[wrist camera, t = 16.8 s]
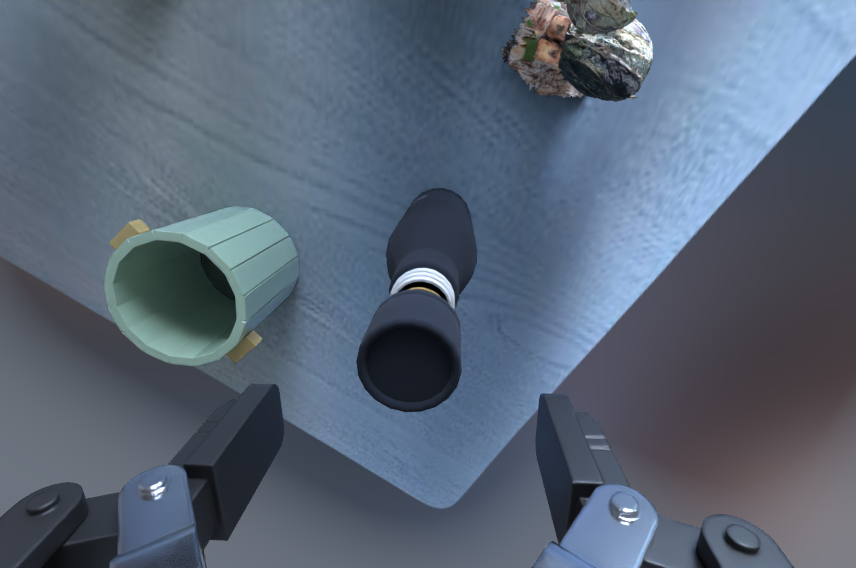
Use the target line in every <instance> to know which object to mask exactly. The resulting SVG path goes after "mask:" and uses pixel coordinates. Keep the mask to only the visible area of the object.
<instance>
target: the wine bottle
mask: <svg viewBox="0 0 856 568" xmlns="http://www.w3.org/2000/svg"><path fill="white" fill-rule="evenodd" d="M386 258H387V267H388V274H389V277H390V279H391V284H390V288H389V295H390V297H389V298H387V299H386V300H385V301H384V302H382V303H381V305H380V306H379V308H378V309H377V311H376V313H375V314H374V316H373V319H372V321H371V323H370V325H369V327H368V329H367V332H366V334H365V336H364V338H363V340H362V342H361V345H360V347H359V352H358V356H357V361H356V362H357V369H358V376H359V378H360V380H361V382H362V384H363V386H364V388H365V390H366V391H367V392H368V393H369V394H370V395H371V396H372V397H373V398H374V399H375V400H376V401H378V402H380V403H381V404H383V405H385V406H387V407H389V408H391V409H395V410H399V411H403V412H421V411H424V410H427V409H431V408H434V407H436V406H438V405H439V404H440V403H442V402H443V401H445V400H446V399H448V398H449V396H450V395H451V394H452V393H453V391H454V390H455V389H456V387H457V385H458V382H459V379H460V376H461V372H462V370H461V332H460V322H459V319H458V317H457V314H456V312H455V310H454V309H455V308H456V305H457V302H458V298H459V294H461V292H462V291H463V289H464V288H465V287H466V285H467V284H468V282H469V281H470V279H471V278H472V275H473V272H474V269H475V266H476V263H477V248H476V242H475V237H474V231H473V226H472V221H471V216H470V212H469V209H468V206H467V204H466V203H465V201H464V200H463V199H462V198H461V196H459V195H458V194H456V193H455V192H453V191H451V190H447V189H444V188H436V189H430V190H428V191H425V192H423V193H422V194H420V195H419V196H418V197H417V198H416V199H415V200H414V201H413V203H412V204H411V206H410V207H409V209H408V210H407V212H406V213H405V215H404V216H403V218H402V219H401V221H400V222H399V224H398V225H397V227H396V228H395V230H394V232H393V233H392V235H391V236H390V238H389V242H388V247H387V251H386Z"/></svg>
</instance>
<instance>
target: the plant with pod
mask: <svg viewBox="0 0 856 568" xmlns="http://www.w3.org/2000/svg"><path fill="white" fill-rule="evenodd" d="M535 1H536V2H537V3H530V9H524V10H525V11H526V12H527V13H528V14H529V15H530V16H527V17H523V18H522V19H523V20H524V21H525V22H526V23H520V25H519V30H516V29H514V35H512V38H513V40H510V42H511V43H509V42H507V47H503V54H502V55H503V56H504V57H503V59H505V61H504V62H507V64H510V65H509V67H510V66H511V68H514V69H515V71H516V72H517V73H518V75H520V76H521V77H522V79H523V80H525V81H526V84H528V83H529V82H530V90H531V89H532V88H533V87H534V86H535V93H536V94H538V95H541V94H543V96H545V95H547V96H552V95H554V96H555V94H556V95H557V96H563V98H565V96H566V97H567V98H568V97H570V98H571V95H572V96H573V98H574V97H575V96H576V97H577V95H578V96H579V97H580V98H581V96H584V95H586V96H589V97H593V98H599V99H601V100H607V101H608V100H609V101H610V100H612V101H614V102H617V101H621V100H624V99H626V98H628V97H629V99H631V100H632V99H634V98H636V96H634V94H635V93H636V92H638V91H639V89H640V87H641V84H642V82H643V81H644V79H645V77H646V75H647V74H648V71H649V70H650V66H651V63H652V60H653V56H654V55H653V45H652V42H651V38H650V36H649V34H648V32H647V30H646V29H645V28H644V26H643V25H642V24H641V23H639V22H638V21H637V20H635V18H636V15H637V13H636V12H634V11H632V5H631V2H630V0H553V1H552V2H551V0H535Z"/></svg>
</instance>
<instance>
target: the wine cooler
mask: <svg viewBox="0 0 856 568" xmlns="http://www.w3.org/2000/svg"><path fill="white" fill-rule="evenodd" d="M273 219H274V218H272V217H270V216H268V215H266V214H264V213H262V212H260V211H258V210H256V209H253V208H246V207H236V206H230V207H227V208H224V209H221V210H217V211H214V212H211V213H207V214H204V215H201V216H197V217H194V218H191V219H187V220H184V221H181V222H177V223H174V224H171V225H167V226H164V227H161V228H157V229H154V230H151V229H150V228H149V227H148V226H147V225H146V224H145V223H144V222H143V221H142V220H141V219H139V220H135V221H131V222H128V223H127V224H126V225H125V226H124V228H123V229H122V230H121V231H120V232H119V233H118V234H117V235H116V236H115V237H114V238H113V239H112V240H111V241H110V243H109V244H110V245H111V246H112V247H113V248H114V249H115V250H116V251H115V252H114V253H113V254H112V255H111V256H110V258H109V262H108V265H107V269H106V273H105V276H104V281H105V282H103V284H104V290H105V296H106V302H107V307H110V308H108V310H109V311H110V313H111V315H112V316H113V318H114V320H115V322H116V323H117V325H118V327H119V328H120V330H121V331H122V332H123V331H124V332H123V334H124V335H125V336H126V337H127V338H128V339H130V340H131V341H132V342H133V343H134V344H135V345H136V346H137V347H138V348H140V349H141V350H142V351H144V350H145V351H144V352H145V353H147V354H149V355H151V356H153V357H155V358H158V359H160V360H162V361H164V362H166V363H169V362H170V364H178V365H187V366H195V365H196V366H199V365H203V364H206V363H210V362H214V361H217V360H219V359H221V358H222V357H223V356H225V355H226V356H227V357H228V358H230V359H231V360H232V361H233V362H234V363H235V364H236V363H237V362H238V361H239V360H241V359H242V358H243V357H244V356H245V355H247V354H248V353H249V352H250V351H251V350H252V349H254V348H255V347H256V346H257V345H258V344H259V343H260V342H261V341H262V340H263V339H262V338H261V337H260V336H259V335H258V334H257V333H256V332H255V331H254V330H253V329H254V328H255V327H256V326H257V325H258V324H260V323H261V322H262V321H263V320H264V319H265V318H266V317H267V316H268V315H269V314H270V313H271V312H272V311H273V310H274V309H275V308H277V307H278V306H279V305H280V304H281V303H282V302H283V301H284V300H285V299H286V298H287V297H288V296H289V295H290V294H291V293H292V291H293V288H294V286H295V284H296V281H297V279H298V276H299V258H298V254H297V251H296V249H295V246H294V244H293V242H292V239H291V237H290V236H289V234H288V233H287V232H286V231H285V230H284V229H283V227H282V226H281V225H280V224H279V223H278V222H277V221H276V220H275V219H274V220H273ZM150 230H151V231H150ZM200 252H201V253H203V254H205V255H206V256H207V257H208V258H209V259H210V260H211V261H212V262H213V263H214V264H215V265H216V266H217V267H218V268H219V269H220V270H221V271H222V272H223V273H224V274H225V276H226V278H227V280H228V282H229V284H230V287H231V289H232V291H233V293H234V295H235V300H233V299H230V298H228V297H226V296H224V295H222V294H221V293H220V292H219V291H218V290H217V289H216V288H215V287H214V286H213V285H212V284H211V283H210V282H209V280H208V278H207V276H206V274H205V272H204V270H203V268H202V265H201V256H200Z"/></svg>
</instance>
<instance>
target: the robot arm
mask: <svg viewBox="0 0 856 568" xmlns="http://www.w3.org/2000/svg"><path fill="white" fill-rule="evenodd" d="M283 436H284V423H283V415H282V408H281V400H280V392H279V388H278V386H277V385H276V384H250V385H249V386H248V387H247V388H246V390H245V391H244V392H243V393H242V394H241V396H240V397H239V398H238V399H237V400H235V399H232V400H230V401H229V402H227V403H226V404H224V405H222V406H221V407H219V408H218V409H216V410H215V412H214V413H213V414H212V415H211V416H210V417H209V418H208V419H207V421H206V423H204V424H203V425H202V426H201V427H200V429H199V430H198V433H195V434H194V436H192V438H191V439H190V440H189V441H188V442H187V443H186V444H185V446H184V447H183V448H182V449H181V450H180V451H179V452H178V453H177V455H176V456H175V457H174V458H173V459H172V460H171V462H170V463H169V464H168V465H162V466H158V467H154V468H151V469H149V470H146V471H144V472H142V473H140V474H139V475H137V476H135V477H134V478H133V479H131V480H130V481H129V482H128V483H127V484H126V485H125V486H124V487H123V488H122V490H121V492H119V493H114V494H108V495H103V496H98V497H93V498H88V499H86V498H85V495H84V492H83V489H82V487H81V486H80V485H79V484H76V483H69V482H68V483H59V484H55V485H51V486H48V487H45V488H43V489H40V490H38V491H36V492H34V493H32V494H30V495H29V496H26V497H25V498H23V499H22V500H20V501H19V502H18V503H17V504H15V505H14V506H13V507H12V508H11V509H9V510H8V511H7V512H6V513H5V514H4V515H3V516H1V517H0V568H207V564H206V558H205V554H204V548H205V547H206V545H207V544H208V542H209V540H225V541H227V540H228V539H229V537H230V535H231V533H232V532H233V530H234V528H235V526H236V524H237V523H238V521H239V519H240V518H241V516H242V514H243V512H244V511H245V509H246V507H247V505H248V504H249V502H250V500H251V498H252V496H253V495H254V493H255V491H256V489H257V488H258V486H259V484H260V482H261V481H262V479H263V477H264V475H265V473H266V472H267V470H268V468H269V467H270V465H271V463H272V461H273V460H274V458H275V456H276V454H277V452H278V450H279V449H280V447H281V444H282V441H283ZM536 455H537V460H538V464H539V468H540V472H541V476H542V480H543V484H544V488H545V492H546V496H547V500H548V504H549V508H550V512H551V516H552V520H553V524H554V528H555V531H556V535H557V539H558V543H559V544H557V543H555V542H554V541H552V542H550V543H549V544H548V545H547V546H546V547H545V549H544V550H543V552H542V553H541V555H540V556H539V558H538V559H537V560H536V562H535V563H534V565H533V566H532V568H794V567H793V566H792V564H791V563H790V561H789V560H788V559H787V557H786V556H785V554H784V553H783V552H782V551H781V549H780V548H779V546H778V545H777V544H776V543H775V541H774V540H773V539H772V538H771V537H770V536H769V535H767V534H766V533H765V532H764V531H763V530H761V529H760V528H758V527H757V526H755V525H753V524H751V523H750V522H747V521H745V520H743V519H740V518H738V517H734V516H730V515H724V514H716V515H711V516H709V517H707V518H706V519H705V520H704V521H703V523H702V527H701V528H697V527H694V526H691V525H687V524H684V523H680V522H677V521H674V520H670V519H668V518H665V517H663V516H660V515H659V514H658V513H657V511H656V509H655V507H654V506H653V504H652V503H651V502H650V501H649V500H648V499H647V498H646V497H645V496H644V495H642V494H640V493H639V492H637V491H636V490H634V489H631V487H630V485H629V483H628V481H627V479H626V477H625V475H624V473H623V471H622V469H621V467H620V465H619V463H618V461H617V459H616V457H615V455H614V453H613V451H612V450H611V447H610V445H609V443H608V441H607V439H605V435H604V433H603V431H602V429H601V427H600V425H599V423H597V422H596V421H595V420H594V419H593V418H592V417H591V416H590V415H589V414H587V413H586V412H575V411H574V409H573V407H572V405H571V402H570V400H569V398H568V396H567V395H566V394H541V395H540V398H539V407H538V418H537V429H536Z"/></svg>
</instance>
